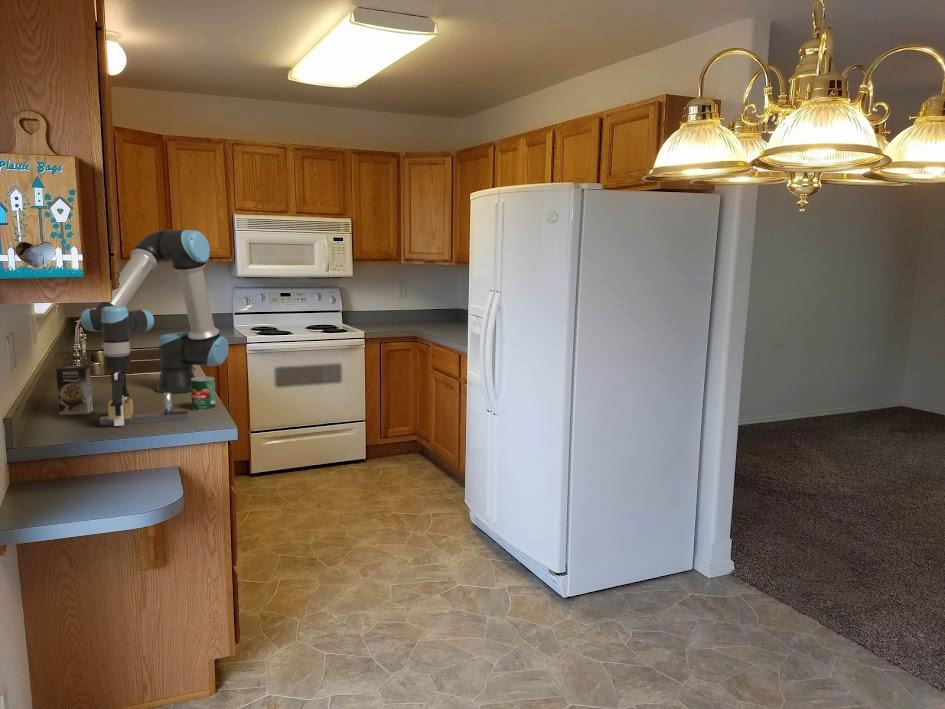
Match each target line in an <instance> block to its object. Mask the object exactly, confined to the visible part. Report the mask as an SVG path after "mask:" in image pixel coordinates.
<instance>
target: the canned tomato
mask: <svg viewBox="0 0 945 709" xmlns="http://www.w3.org/2000/svg"><path fill="white" fill-rule="evenodd" d="M191 390H192V391H191V406H192V407H191V408H192V411H194V410H195V412H206V411H205V410H209V411H212V410H211V409H213V410H215V409H216V406H217V405H216V404H217V403H216V402H217V401H216V381H215V377H214V376H195V378H192V379H191ZM214 408H215V409H214Z"/></svg>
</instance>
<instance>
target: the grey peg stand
mask: <svg viewBox="0 0 945 709" xmlns="http://www.w3.org/2000/svg"><path fill="white" fill-rule="evenodd" d="M162 395H163V410H164V412H155V413H154V412H153V413H152V412H151V413H138V414H133V416H132V418H129V419H124V425H127V424H128V425H129V424H141V423H142V424H143V423H145V424H146V423H156V422H170V421H171V422H172V421H183V420H184V421H185V420H186V419H188V420H189V411H188V410H183V411H181V410H180V411H173V402H172V401H173V400H172V393H171V392H166V393H162ZM122 403H125V401H124V395H122ZM99 426H100V427H101V426H114V420H109V416H107V415H106V416H101V417H100V418H99Z"/></svg>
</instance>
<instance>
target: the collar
mask: <svg viewBox="0 0 945 709" xmlns="http://www.w3.org/2000/svg"><path fill="white" fill-rule="evenodd" d="M124 401H125V403H122V405H123V413H124V419H129V418H132V416H133V415H134V404H133V403H134V400H133V398H127V399H125V400H124ZM111 403H112V399H111V400H109V402H108V403H107V414H108V416H109V420H114V411H113V406H110V404H111Z"/></svg>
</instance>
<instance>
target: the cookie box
mask: <svg viewBox="0 0 945 709" xmlns="http://www.w3.org/2000/svg"><path fill="white" fill-rule="evenodd" d="M55 371H56V387H57V388H56V389H57V398H58V399H57V401H58V402H57V404H58V415H59V416H66V415H67V416H68V415H88V414H90V413H91V412H92V411H94V408H93V394H92V377H91V375H92V374H91V365H61V366H58V367H57V368H55Z"/></svg>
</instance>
